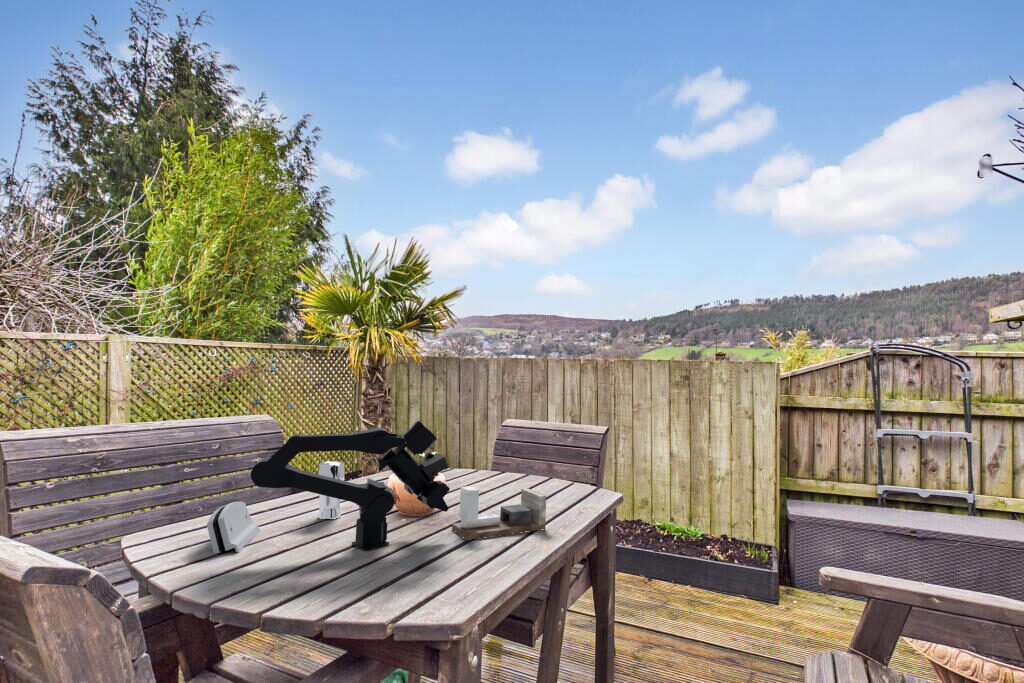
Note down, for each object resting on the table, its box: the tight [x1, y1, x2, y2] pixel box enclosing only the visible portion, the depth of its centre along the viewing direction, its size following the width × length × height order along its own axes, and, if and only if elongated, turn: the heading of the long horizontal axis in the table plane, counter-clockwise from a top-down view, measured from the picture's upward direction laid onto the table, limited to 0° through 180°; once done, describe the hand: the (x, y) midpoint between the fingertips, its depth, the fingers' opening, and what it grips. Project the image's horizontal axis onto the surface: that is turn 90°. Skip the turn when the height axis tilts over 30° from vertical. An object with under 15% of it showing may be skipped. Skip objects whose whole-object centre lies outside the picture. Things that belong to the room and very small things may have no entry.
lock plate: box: [451, 487, 547, 541], centre depth 136 cm, size 23×10×9 cm, turn 119°
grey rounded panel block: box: [206, 501, 261, 554], centre depth 120 cm, size 17×5×10 cm, turn 11°
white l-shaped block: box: [459, 485, 500, 529], centre depth 133 cm, size 10×5×10 cm, turn 119°
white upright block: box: [317, 460, 345, 520], centre depth 143 cm, size 7×7×15 cm
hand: (447, 510), depth 129 cm, fingers closed
